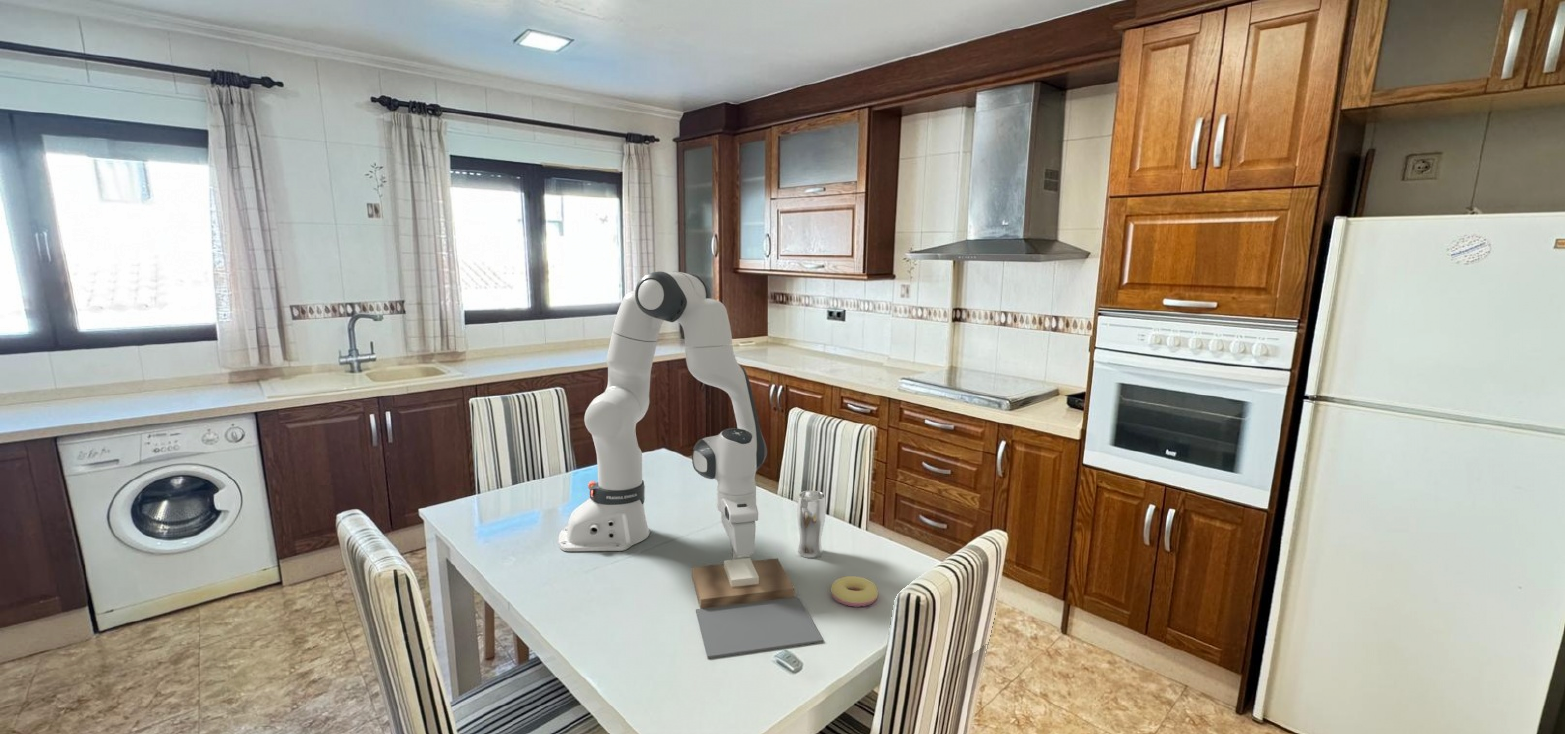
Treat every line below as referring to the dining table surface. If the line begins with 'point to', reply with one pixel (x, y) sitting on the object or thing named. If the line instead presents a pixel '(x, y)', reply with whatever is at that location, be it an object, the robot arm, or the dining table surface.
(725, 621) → the mat
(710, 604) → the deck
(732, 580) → the tile
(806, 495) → the beer glass
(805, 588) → the dining table surface
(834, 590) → the donut
